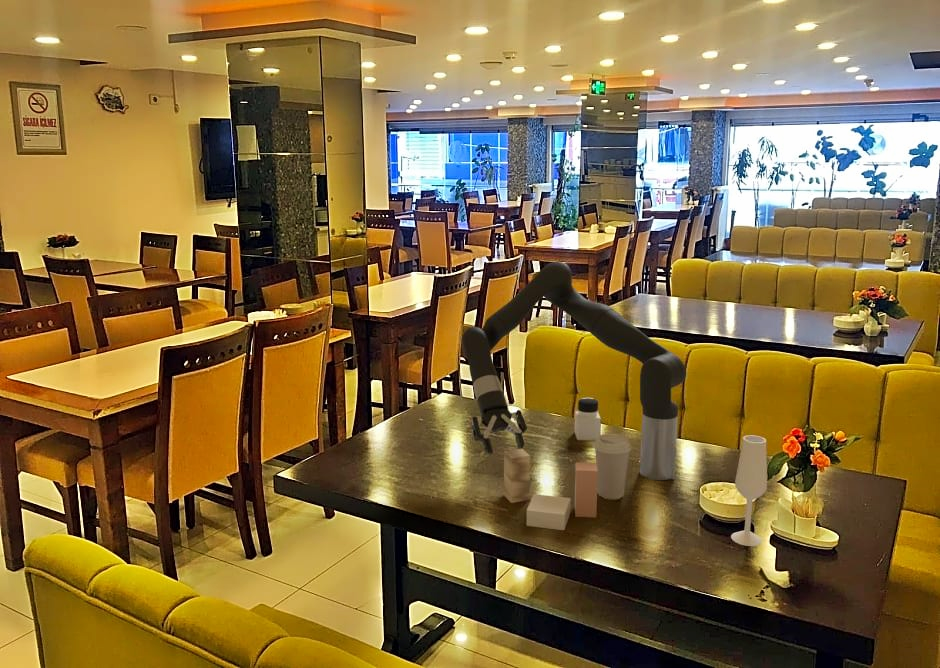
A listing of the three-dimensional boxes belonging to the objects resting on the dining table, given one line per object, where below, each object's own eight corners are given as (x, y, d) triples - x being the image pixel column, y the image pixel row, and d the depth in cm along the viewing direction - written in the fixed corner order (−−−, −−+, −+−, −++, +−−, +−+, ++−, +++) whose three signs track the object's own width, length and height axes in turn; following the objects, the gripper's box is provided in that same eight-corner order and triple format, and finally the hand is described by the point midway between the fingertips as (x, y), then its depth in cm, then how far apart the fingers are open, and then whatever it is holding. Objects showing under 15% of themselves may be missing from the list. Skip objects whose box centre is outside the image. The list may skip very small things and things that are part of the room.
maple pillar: (521, 492, 199) (522, 448, 196) (529, 499, 194) (530, 455, 192) (503, 494, 197) (504, 451, 194) (511, 502, 193) (511, 458, 190)
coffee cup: (584, 490, 200) (586, 435, 196) (615, 483, 203) (617, 430, 200) (605, 504, 191) (607, 448, 188) (637, 498, 195) (639, 442, 191)
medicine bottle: (600, 440, 234) (601, 403, 231) (577, 440, 234) (578, 403, 231) (597, 432, 241) (598, 395, 238) (574, 432, 241) (575, 395, 238)
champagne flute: (745, 548, 169) (754, 446, 164) (724, 535, 175) (731, 436, 170) (768, 542, 172) (777, 441, 167) (747, 529, 178) (755, 431, 173)
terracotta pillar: (594, 508, 189) (596, 462, 187) (596, 517, 185) (597, 471, 182) (574, 507, 190) (575, 462, 187) (575, 516, 185) (576, 470, 182)
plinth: (570, 513, 187) (570, 498, 186) (564, 530, 178) (564, 514, 177) (533, 509, 189) (533, 494, 188) (526, 525, 181) (526, 510, 180)
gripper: (510, 398, 212) (527, 452, 205) (462, 405, 208) (477, 460, 200) (518, 386, 206) (535, 441, 198) (467, 392, 202) (483, 449, 194)
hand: (506, 451), depth 199 cm, fingers open, 8 cm apart
